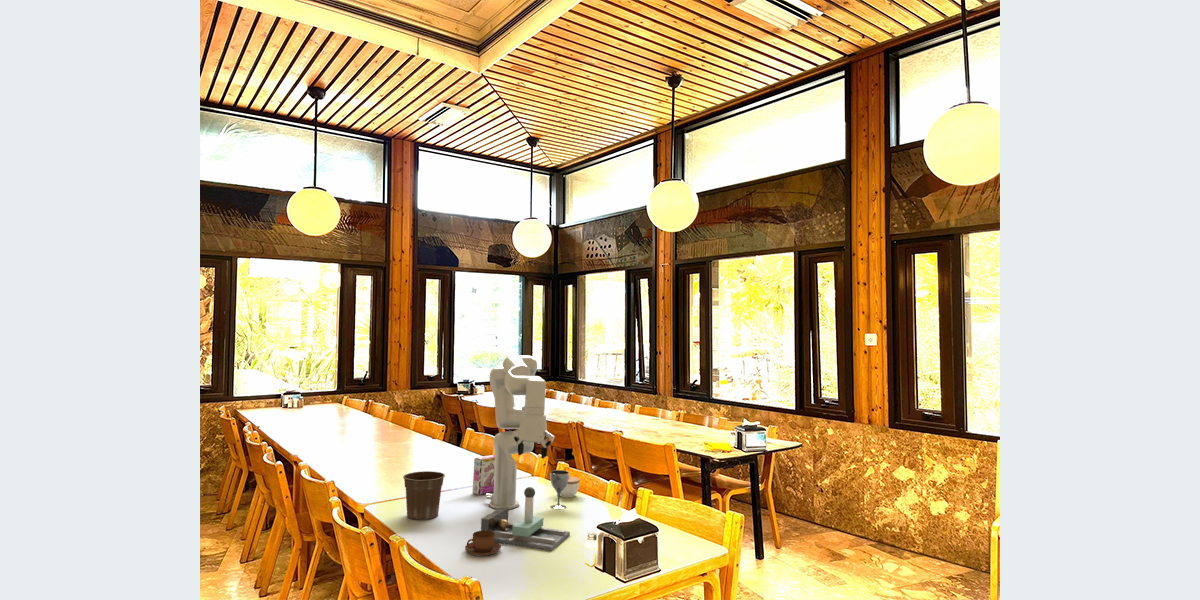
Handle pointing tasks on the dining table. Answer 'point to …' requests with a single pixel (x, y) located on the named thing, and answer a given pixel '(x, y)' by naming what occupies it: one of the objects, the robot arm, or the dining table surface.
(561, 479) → the wine glass
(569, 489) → the lidded jar
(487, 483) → the candy bar box
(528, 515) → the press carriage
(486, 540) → the cup and saucer
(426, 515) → the plant pot
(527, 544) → the press base
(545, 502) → the dining table surface
